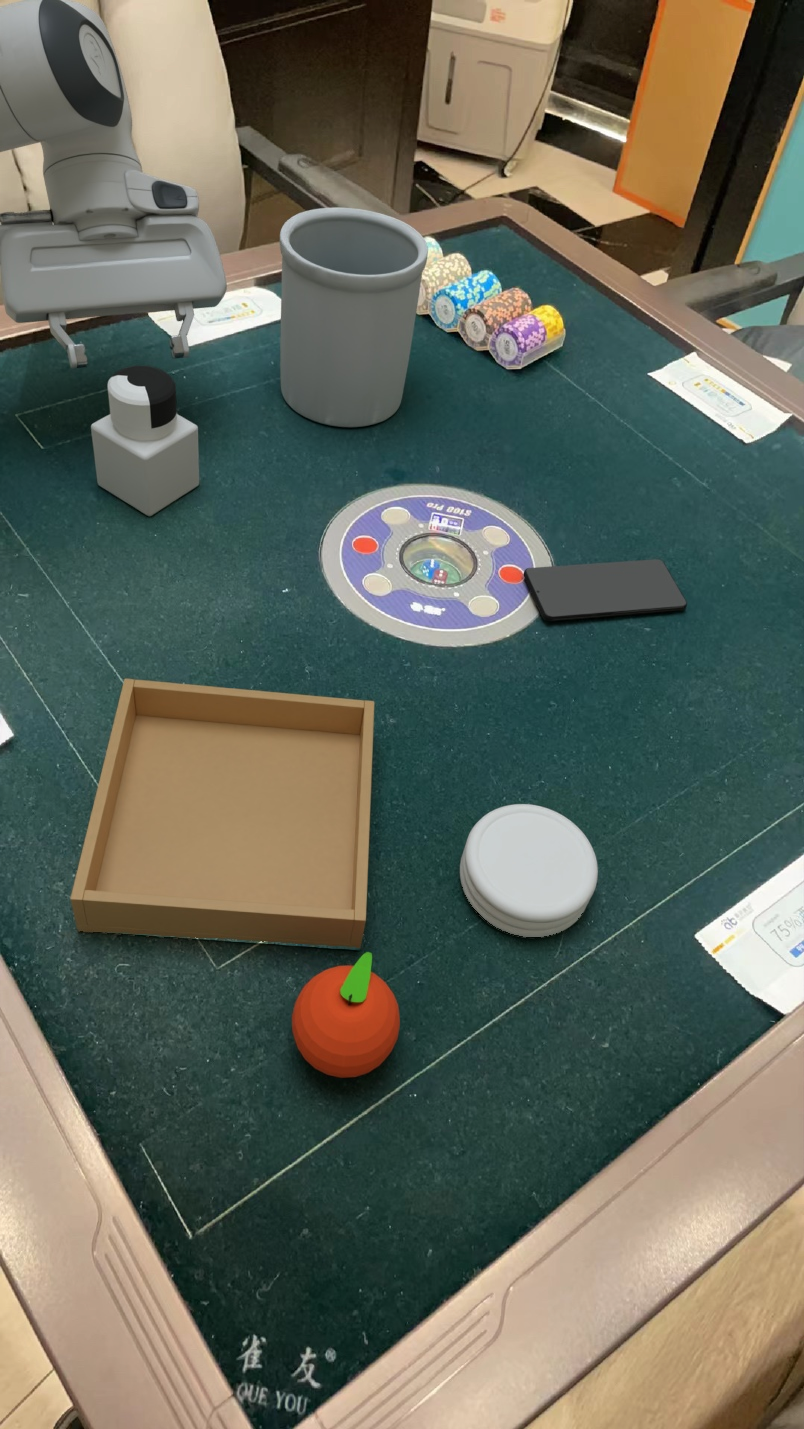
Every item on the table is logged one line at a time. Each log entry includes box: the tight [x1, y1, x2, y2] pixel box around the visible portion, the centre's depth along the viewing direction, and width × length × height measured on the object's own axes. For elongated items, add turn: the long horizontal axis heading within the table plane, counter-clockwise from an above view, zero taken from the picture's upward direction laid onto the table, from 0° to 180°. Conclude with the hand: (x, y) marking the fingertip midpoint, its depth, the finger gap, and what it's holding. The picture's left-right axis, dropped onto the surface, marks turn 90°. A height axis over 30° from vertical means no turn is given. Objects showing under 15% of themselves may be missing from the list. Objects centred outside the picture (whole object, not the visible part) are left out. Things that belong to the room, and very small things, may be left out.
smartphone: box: [522, 558, 688, 622], centre depth 101 cm, size 7×1×15 cm
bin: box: [69, 677, 375, 949], centre depth 78 cm, size 20×20×4 cm
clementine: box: [291, 951, 401, 1079], centre depth 67 cm, size 8×7×7 cm
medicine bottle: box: [90, 365, 200, 517], centre depth 99 cm, size 7×7×12 cm
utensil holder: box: [279, 206, 429, 428], centre depth 111 cm, size 15×15×18 cm
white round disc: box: [459, 803, 599, 938], centre depth 78 cm, size 10×10×4 cm
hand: (131, 361), depth 98 cm, fingers open, 8 cm apart
